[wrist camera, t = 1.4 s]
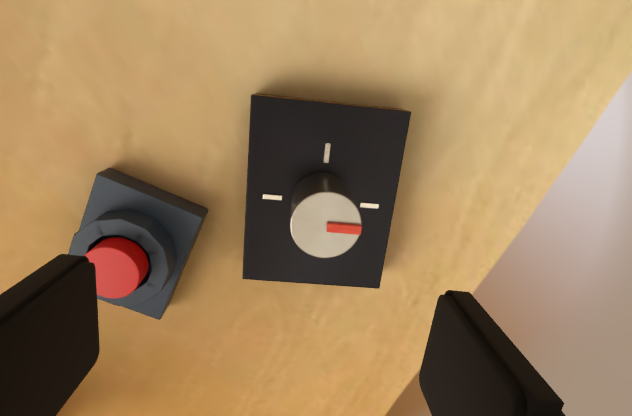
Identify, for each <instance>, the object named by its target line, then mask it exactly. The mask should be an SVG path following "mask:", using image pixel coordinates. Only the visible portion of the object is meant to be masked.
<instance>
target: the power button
mask: <svg viewBox="0 0 632 416" xmlns="http://www.w3.org/2000/svg"><path fill="white" fill-rule="evenodd" d="M84 256H86V257H87V258H88V259H89V262H93V263H94V265H95V268H96V288H97V295H100V296H102V297H105V298H113V299H114V298H122V297H125V296H127V295H129V294H131V293H132V292H133V291H134V290H135V289H136V288H137V287H138V285H139V284H140V283H141V281H142V280H143V279H144V278H145V276H146V274H147V272H148V267H149V263H148V258H147V256H146V254H145V252H144V250H143V249H142V248H141V247H140V246H139V245H138V244H136V243H135V242H133V241H131V240H129V239H126V238H121V237H112V238H107V239H105V240H103V241H101V242H100V243H98V244H97V245H96V246H95V247H94V248H92V249H91V250H90V251H89V252H88V253H86V254H85V255H84Z"/></svg>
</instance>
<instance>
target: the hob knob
mask: <svg viewBox="0 0 632 416" xmlns="http://www.w3.org/2000/svg"><path fill="white" fill-rule="evenodd" d="M361 225H362V223H361V216H360V213H359V210H358V208H357V206H356V204H355V202H354V199H353V197H352V195H351V193H350V191H349V189H348V187H347V185H346V184H345V182H344V181H343V180H342V179H340V178H339V177H337V176H336V175H333V174H330V173H325V172H319V173H313V174H311V175H308V176H306V177H305V178H303V179H302V180H301V181H300V182H299V183H298V184H297V186H296V187H295V189H294V191H293V194H292V201H291V218H290V230H291V235H292V237H293V240H294V241H295V243H296V244H297V246H298V247H299V248H300V249H301V250H303V251H304V252H305V253H307V254H309V255H311V256H314V257H319V258H332V257H336V256H339V255H341V254H343V253H345V252H346V251H348V250H349V249H350V248H351V247H352V246H353V245H354V244H355V242H356V241H357V239H358V237H359V235H361V230H362V226H361Z"/></svg>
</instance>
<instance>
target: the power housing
mask: <svg viewBox="0 0 632 416" xmlns="http://www.w3.org/2000/svg"><path fill="white" fill-rule="evenodd" d="M207 212H208V209H207V208H204V207H202V206H199V205H197V204H195V203H192V202H190V201H188V200H185V199H183V198H180V197H178V196H176V195H173V194H171V193H169V192H166V191H164V190H162V189H159V188H157V187H154V186H152V185H150V184H147V183H145V182H143V181H140V180H138V179H136V178H133V177H131V176H128V175H126V174H124V173H121V172H119V171H117V170H114V169H112V168H108V169H106V170H104V171H102V172H99V173H97V175H96V178H95V181H94V184H93V188H92V191H91V194H90V197H89V200H88V203H87V207H86V210H85V213H84V216H83V219H82V222H81V226H80V229H79V231H78V232H77V233H76V234H74V237H73V240H72V243H71V247H70V250H69V253H68V255H78V256H84V255H85V254H86V253H88V252H89V251H90V250H91V249H92V248H94V247H95V246H96V245H97V244H98V243H100V242H101V241H103V240H105V239H107V238H112V237H121V238H126V239H129V240H131V241H133V242H135V243H136V244H138V245H139V246H140V247H141V248H142V249H143V250H144V252H145V254H146V256H147V258H148V263H149V267H148V272H147V274H146V276H145V278H144V279H143V280H142V281H141V283H140V284H139V285H138V287H137V288H136V289H135V290H134V291H133V292H132V293H131V294H129V295H127V296H125V297H122V298H114V299H113V298H105V297H102V296H100V295H97V299H100V300H103V301H106V302H108V303H111V304H114V305H118V306H123V307H125V308H128V309H131V310H134V311H137V312H139V313H142V314H145V315H148V316H150V317H153V318H156V319H159V320H160V319H161V317H162V316H163V314H164V312H165V310H166V309H167V307H168V305H169V302H170V300H171V298H172V295H173V293H174V291H175V288H176V286H177V283H178V281H179V279H180V276H181V274H182V272H183V269H184V267H185V264H186V262H187V260H188V257H189V255H190V253H191V250H192V248H193V245H194V243H195V241H196V238H197V236H198V233H199V231H200V229H201V226H202V224H203V222H204V219H205V217H206V214H207Z"/></svg>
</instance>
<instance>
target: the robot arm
mask: <svg viewBox="0 0 632 416" xmlns="http://www.w3.org/2000/svg"><path fill="white" fill-rule="evenodd" d="M98 355H99V329H98V308H97V288H96V268H95V265H94V263H93V262H89V259H88V258H87V257H86V256H78V255H67V254H61V255H58V256H57V257H55V258H54V259H53V260H51V261H50V262H48V263H47V264H45V265H44V266H42V267H41V268H39V269H38V270H36V271H35V272H33V273H32V274H30V275H29V276H27V277H26V278H24V279H23V280H21V281H20V282H18V283H17V284H16V285H14V286H13V287H11V288H10V289H8V290H7V291H5V292H4V293H2V294H1V295H0V416H56V415H57V413H58V412H59V411H60V409H61V408H62V407H63V405H64V404H65V403H66V401H67V400H68V399H69V397H70V396H71V395H72V394H73V392H74V391H75V390H76V388H77V387H78V386H79V384H80V383H81V382H82V380H83V379H84V378H85V376H86V375H87V374H88V372H89V371H90V370H91V368H92V367H93V366H94V364H95V363H96V361H97V358H98ZM419 382H420V387H421V390H422V392H423V395H424V397H425V399H426V402H427V404H428V407H429V409H430V411H431V414H432V416H565V415H564V413H563V412H562V411H561V410H562V407H563V405H564V403H563V401H562V400H561V399H560V398H559V397H558V395H557V394H556V393H555V392H554V391H553V390H552V388H551V387H550V386H549V385H548V384H547V382H546V381H545V380H544V379H543V378H542V377H541V375H539V373H538V372H537V371H536V370H535V369H534V367H533V366H532V365H531V364H530V363H529V361H528V360H527V359H526V358H525V357H524V355H523V354H522V353H521V352H520V351H519V350H518V349H517V347H516V346H515V345H514V344H513V343H512V342H511V340H510V339H509V338H508V337H507V336H506V335H505V333H504V332H503V331H502V330H501V329H500V327H499V326H498V325H497V324H496V323H495V322H494V320H493V319H492V318H491V317H490V316H489V314H488V313H487V312H486V311H485V310H484V309H483V307H482V306H481V305H480V304H479V303H478V302H477V300H476V299H475V298H474V297H473V296H472V295H471V294H470V293H469V292H462V291H451V290H448V291H446V293H445V295H440V296H439V298H438V301H437V305H436V309H435V313H434V317H433V321H432V325H431V330H430V334H429V338H428V342H427V346H426V350H425V354H424V358H423V362H422V366H421V370H420V375H419Z"/></svg>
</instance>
